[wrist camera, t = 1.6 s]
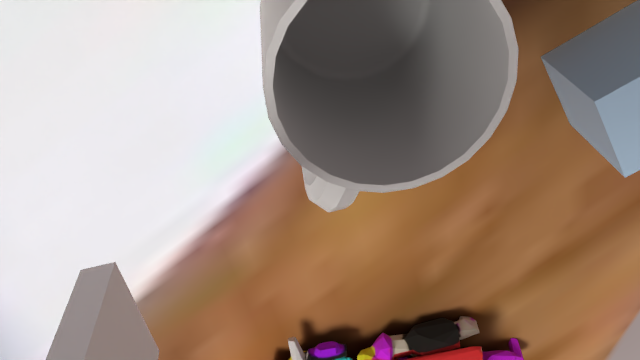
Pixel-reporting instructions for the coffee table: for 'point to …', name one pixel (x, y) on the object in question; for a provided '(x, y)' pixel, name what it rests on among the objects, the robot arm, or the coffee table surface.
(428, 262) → the coffee table surface
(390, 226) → the coffee table surface
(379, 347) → the toy
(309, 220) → the coffee table surface
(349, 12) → the cup
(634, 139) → the blue painted block
